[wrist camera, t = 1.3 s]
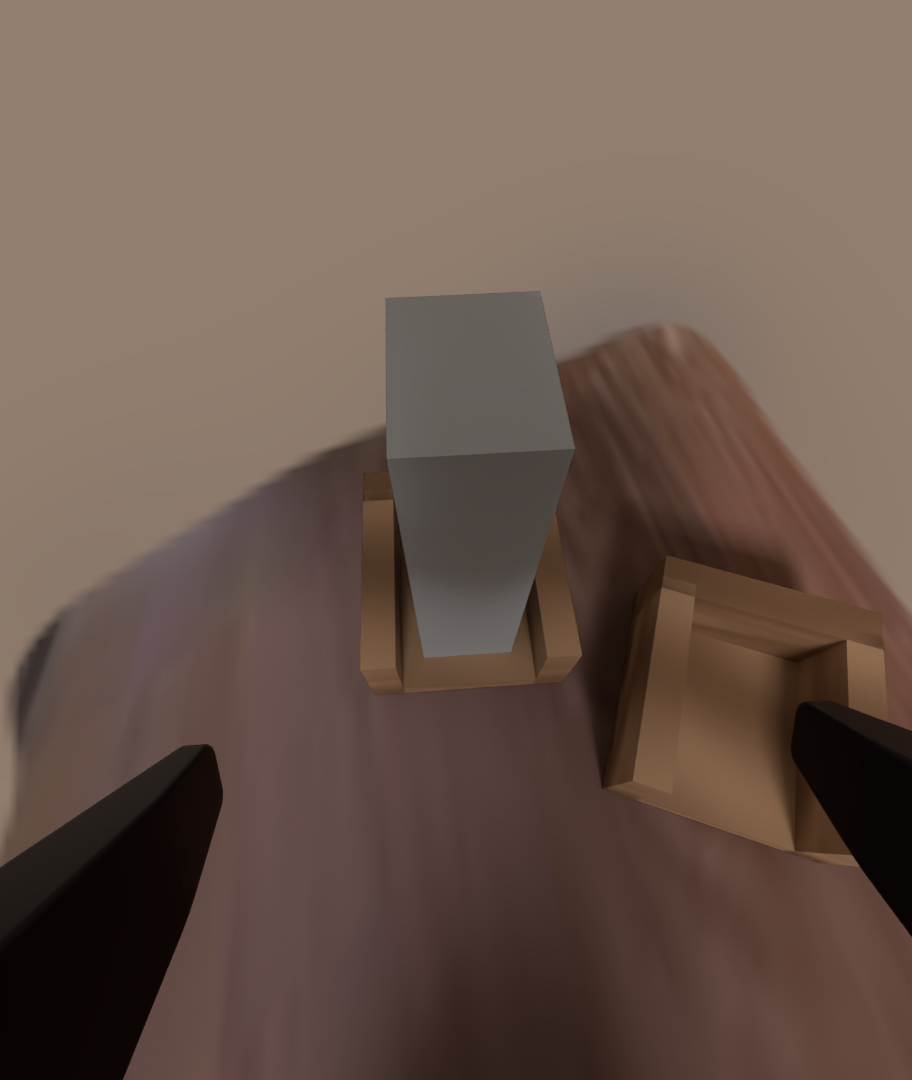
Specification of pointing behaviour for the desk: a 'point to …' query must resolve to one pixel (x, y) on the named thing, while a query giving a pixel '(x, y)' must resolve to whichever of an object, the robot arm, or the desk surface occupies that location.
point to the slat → (473, 459)
